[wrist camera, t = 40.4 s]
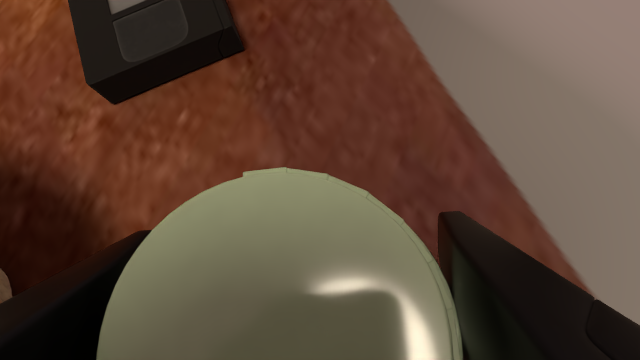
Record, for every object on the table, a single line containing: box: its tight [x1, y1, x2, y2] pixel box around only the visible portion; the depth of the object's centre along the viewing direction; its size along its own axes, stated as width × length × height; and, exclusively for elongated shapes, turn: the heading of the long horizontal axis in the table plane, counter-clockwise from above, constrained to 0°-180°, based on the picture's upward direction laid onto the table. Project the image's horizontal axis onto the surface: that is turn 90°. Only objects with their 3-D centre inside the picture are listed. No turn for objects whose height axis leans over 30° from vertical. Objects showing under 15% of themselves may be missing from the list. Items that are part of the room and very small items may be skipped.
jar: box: [96, 167, 463, 360], centre depth 10 cm, size 6×6×9 cm
